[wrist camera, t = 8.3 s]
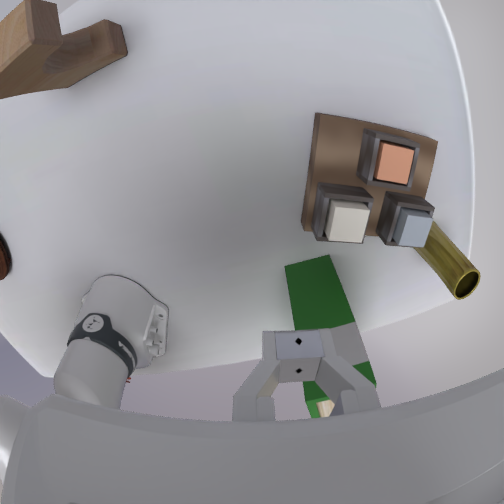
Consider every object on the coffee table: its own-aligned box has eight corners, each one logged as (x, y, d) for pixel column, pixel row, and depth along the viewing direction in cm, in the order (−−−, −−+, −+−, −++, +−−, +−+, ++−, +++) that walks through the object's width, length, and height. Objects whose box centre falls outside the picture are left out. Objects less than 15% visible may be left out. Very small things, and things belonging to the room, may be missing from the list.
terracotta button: (395, 176, 33) (406, 184, 30) (367, 171, 33) (376, 179, 30) (402, 144, 31) (414, 150, 28) (372, 138, 31) (383, 143, 28)
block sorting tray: (404, 230, 42) (423, 252, 36) (300, 221, 41) (309, 245, 35) (427, 137, 34) (454, 148, 28) (315, 112, 33) (329, 117, 27)
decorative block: (121, 23, 25) (28, -7, 8) (129, 56, 28) (32, 43, 11) (60, 58, 26) (-41, 65, 9) (66, 88, 29) (-36, 111, 12)
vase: (411, 254, 45) (450, 308, 32) (407, 226, 42) (452, 277, 30) (438, 242, 43) (480, 291, 31) (436, 214, 40) (484, 260, 28)
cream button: (353, 230, 36) (361, 242, 33) (322, 228, 36) (328, 240, 33) (360, 200, 34) (370, 210, 31) (328, 196, 34) (335, 206, 31)
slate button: (413, 235, 36) (423, 247, 34) (389, 233, 36) (398, 245, 34) (422, 208, 34) (433, 218, 31) (397, 204, 34) (408, 215, 31)
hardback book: (339, 325, 53) (369, 434, 33) (304, 334, 55) (322, 446, 34) (328, 254, 44) (376, 383, 24) (284, 266, 46) (305, 401, 25)
